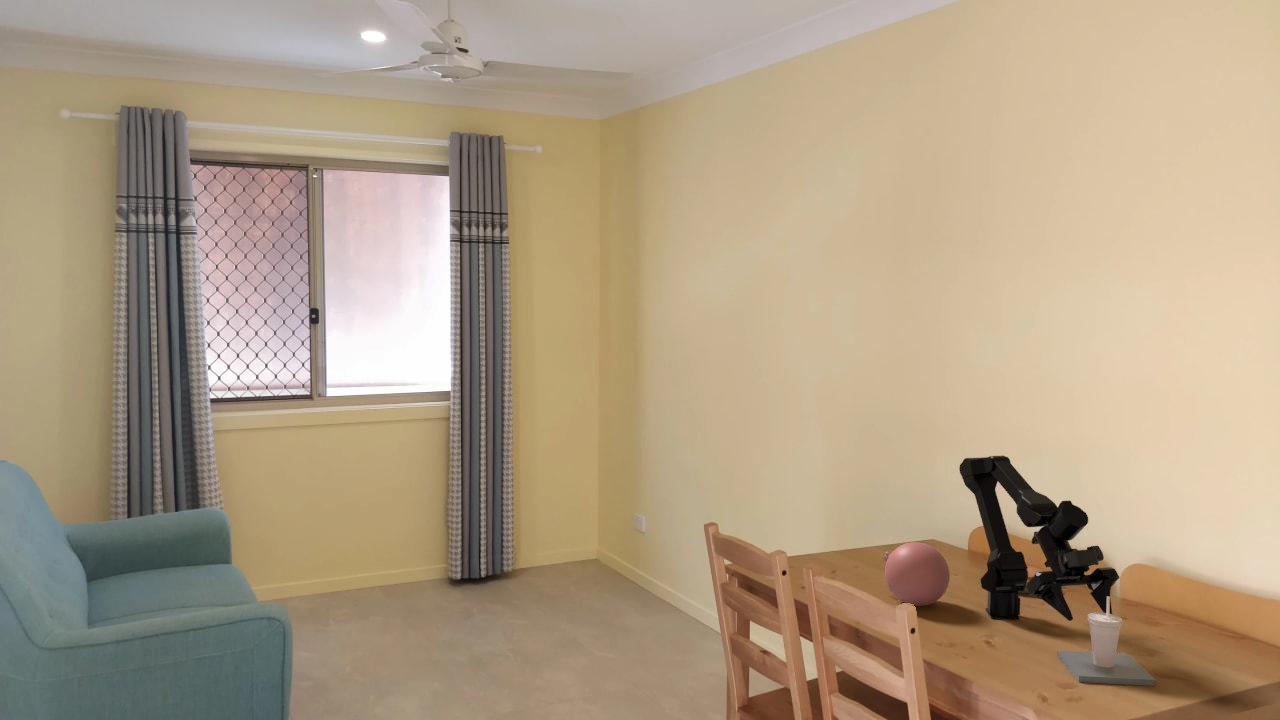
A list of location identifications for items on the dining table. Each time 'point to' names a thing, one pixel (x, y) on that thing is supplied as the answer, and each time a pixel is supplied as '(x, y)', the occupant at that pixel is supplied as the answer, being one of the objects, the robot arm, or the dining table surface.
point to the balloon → (916, 573)
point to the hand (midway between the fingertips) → (1090, 618)
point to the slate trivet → (1105, 669)
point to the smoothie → (1104, 636)
